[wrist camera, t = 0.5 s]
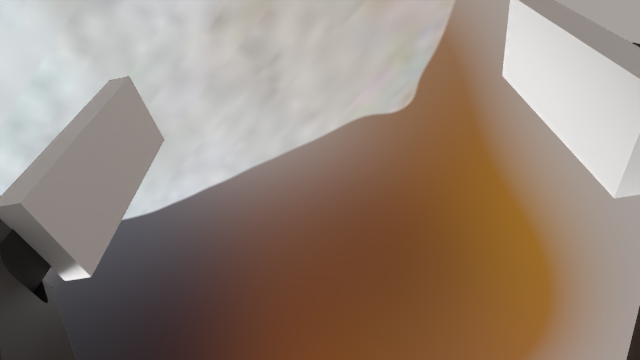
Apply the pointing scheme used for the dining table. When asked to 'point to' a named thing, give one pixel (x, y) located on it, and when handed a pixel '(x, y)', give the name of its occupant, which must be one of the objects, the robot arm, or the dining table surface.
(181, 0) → the dining table surface
